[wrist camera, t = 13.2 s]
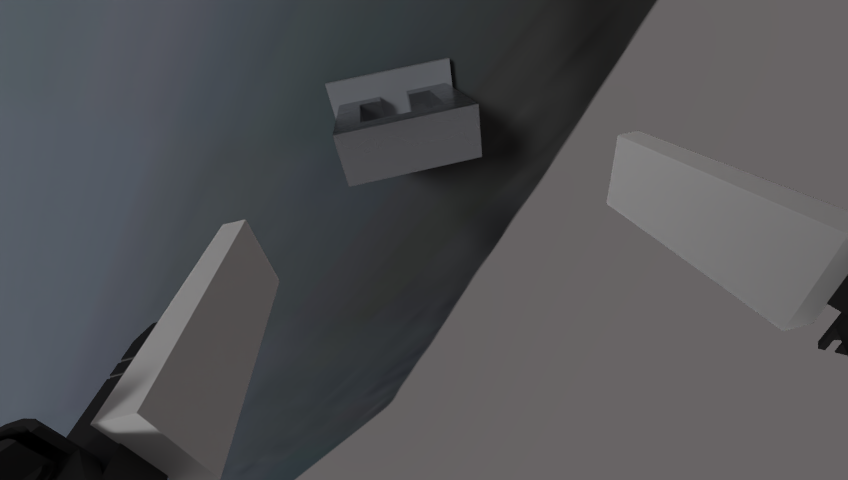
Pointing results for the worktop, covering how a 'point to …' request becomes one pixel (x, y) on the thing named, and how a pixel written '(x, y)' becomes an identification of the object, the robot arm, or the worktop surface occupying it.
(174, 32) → the worktop surface
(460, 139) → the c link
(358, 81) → the pad
